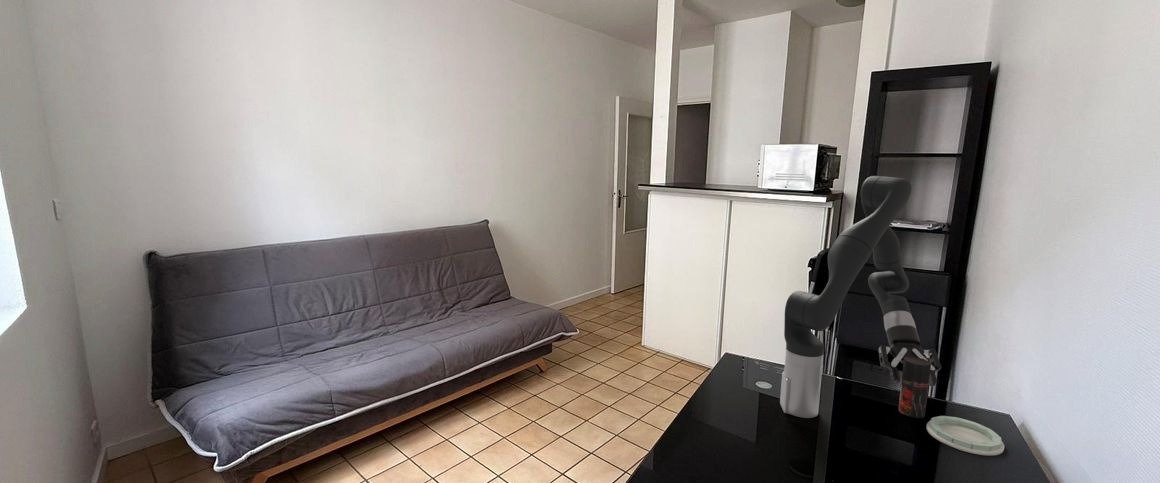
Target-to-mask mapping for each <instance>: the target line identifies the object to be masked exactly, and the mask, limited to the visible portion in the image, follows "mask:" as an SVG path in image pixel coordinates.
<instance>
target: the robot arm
mask: <svg viewBox="0 0 1160 483" xmlns="http://www.w3.org/2000/svg"><path fill="white" fill-rule="evenodd" d="M912 186H913V185H912V183H911V182H910V181H909V180H908V179H906V178H902V177H893V176H881V175H871V176H869V177H867V178H866V179H865V180H864V181H863V182H862V185H861V189H860V202H861V206H862V210H863V213H864V216H865V218H863V219H861V220H860V221H857V222H856V223H853V224H852V225H851V226H848V227H847V228H846V229H844V230H843V231H842V232H840V234H839V235H838V236H837V238H836V239H835V241H834V242H833V244H832V245H831V247H830V249H829V250H828V253H827V267H828V281H827V283H826V286H825V288H823V291H822V292H821V293H820V294H819V295H818V294H815V293H812V292H808V291H803V290H797V291H794V292H792V293H791V294H790V295H789V296H788V297H787V300H786V303H785V306H784V323H783V324H784V328H783V330H784V331H783V332H784V333H783V334H784V336H783V337H784V340H785V357H784V369H783V370H784V371H782V373H781V385H780V397H779V403H780V404H779V405H780V407H781V408H782V412H783V413H784V414H788V415H791V416H795V417H799V418H803V419H812V418H815V417H817V416H818V415H819V410H820V396H821V395H820V394H821V384H822V373H823V363H824V362H823V361H824V351H825V345H824V342H822V340H820V339H819V338H818V337H817V336H816V335H815V333H813V331H815V332H823V331H826V330H827V329H829V327H830V326H831V324H832V322H833V321H834V319H835V318H836V316H837V314H838V313H839V309H840V308H841V306H842V304H843V302H844V299H845V297H846V295H847V293H848V291H849V290H850V288H851V286H852V285H853V283H854V281H855V280H856V278H857V276H858V275H859V273H860V271H861V270H862V269H863V268H864V266H865V265H866V263H867V261H868V260H869V258H870V257H871V255H872V256H873V264H874V267H875V268H876V269H878V270H881V271H878V272H877V271H875V272H873V273H871V274H870V275H869V276H868V278H867V284H868V287H869V289H870V290H871V292H872V294H873V295H874V297H875V299H876V300H877V302H878V304H879V306H880V308H881V312H882V315H883V316H882V317H883V325H884V330H885V334H886V337H887V342H888V345H889V346H886V345H885V344H880V346H879V347H878V349H877V351H878V352H877V353H878V357H879V363H880V367H882V368H886V369H888V370H889V374H890V379H891V380H892V381H893V382H894V383H895V384H899V383H900V382H901V377H900V374H899V373H900V372H899V369H898V367H897V366H898V364H899V363H901V364H903V365H904V358H905V357H917V358H921V359H925V360H927V361H929V362H930V363H931V369H930V377H929V385H928V387H935V386H936V384H938V379H937V376H936V373H938V372H939V371H940V370H941V369H942V368H943V366H942V364H941V361H940V359H939V356H938V354H937V351H936V349H935V348H930V349H924V348H922V345H921V341H920V340H921V339H920V337H919V333H918V330H917V326H916V322H915V319H914V318H913V316H912V313H911V312H912V311H911V309H910V305H909V303H908V300H907V299H906V297H904V296H900V295H897V294H902V293H906V291H907V290H908V289H909V287H910V281H909V278H908V276H907V274H906V272H905V270H904V267H903V264H902V259H901V258H902V256H901V253H902V252H901V242H900V241H899V237H898V236H897V235H896V233H895V231H894V230H893V229H892V227H891V224H892V223H893V222H894V220H896V218H897V217H898V216H899V215H900V214H901V212H902V210H903V209H904V208H905V206H906V205H907V203H908V201H909V200H910V197H911V193H912V189H913V188H912ZM889 353H890V354H891V356H893V357H894V358H893V359H892V361H891V362H889V359H888V358H889V357H888V354H889ZM924 355H925V356H924Z"/></svg>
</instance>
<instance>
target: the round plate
mask: <svg viewBox="0 0 1160 483" xmlns="http://www.w3.org/2000/svg"><path fill="white" fill-rule="evenodd" d="M926 431H927V433H928V434H929V435H930V436H932V438H934V439H935V440H937V441H939V442H940V443H943V444H944V445H946V446H949V447H950V448H954V449H956V450H959V451H962V452H966V453H969V454H974V455H978V456H988V457H989V456H991V457H992V456H993V457H994V456H998V455H1002V454H1003V453H1004V451H1005V444H1004V442H1003V441H1002V437H1001V436H999V434H998V433H996V432H995V431H994V430H992V429H991V428H988V427H987V426H984V425H983V424H980V423H977V422H975V421H972V420H969V419H964V418H961V417H957V416H948V415H947V416H946V415H939V416H934V417H931V419H930V420H929V421H928V422H927V423H926Z"/></svg>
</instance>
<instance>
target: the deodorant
mask: <svg viewBox="0 0 1160 483" xmlns="http://www.w3.org/2000/svg"><path fill="white" fill-rule="evenodd" d="M927 360H928V359H927ZM927 360H925V359H921V358H917V357H905V358H904V364H903V366H902V376H901V385H900V391H899V392H900V393H899V401H898V411H899V413H901V414H902V415H905V416H907V417H910V418H912V419H913V418H914V419H923V418H924V417H926V411H927V410H926V408H927V400H928V391H929V377H930V369H931V363H930V361H929V360H928V361H927Z"/></svg>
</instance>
